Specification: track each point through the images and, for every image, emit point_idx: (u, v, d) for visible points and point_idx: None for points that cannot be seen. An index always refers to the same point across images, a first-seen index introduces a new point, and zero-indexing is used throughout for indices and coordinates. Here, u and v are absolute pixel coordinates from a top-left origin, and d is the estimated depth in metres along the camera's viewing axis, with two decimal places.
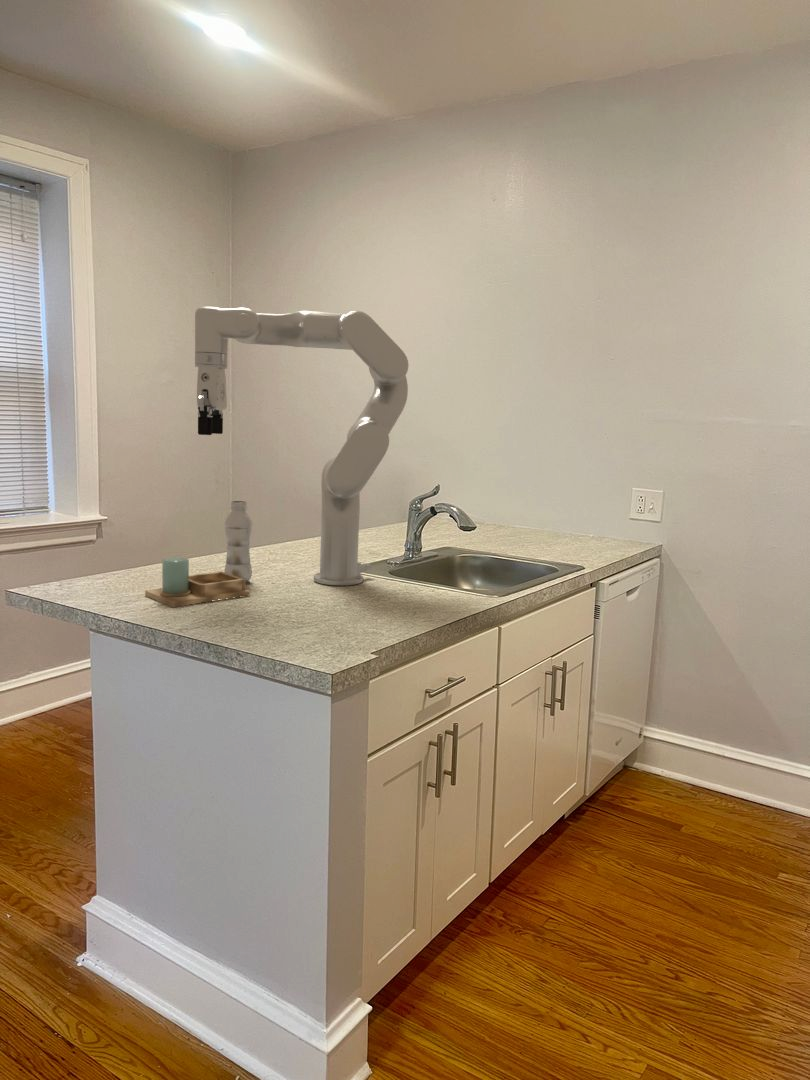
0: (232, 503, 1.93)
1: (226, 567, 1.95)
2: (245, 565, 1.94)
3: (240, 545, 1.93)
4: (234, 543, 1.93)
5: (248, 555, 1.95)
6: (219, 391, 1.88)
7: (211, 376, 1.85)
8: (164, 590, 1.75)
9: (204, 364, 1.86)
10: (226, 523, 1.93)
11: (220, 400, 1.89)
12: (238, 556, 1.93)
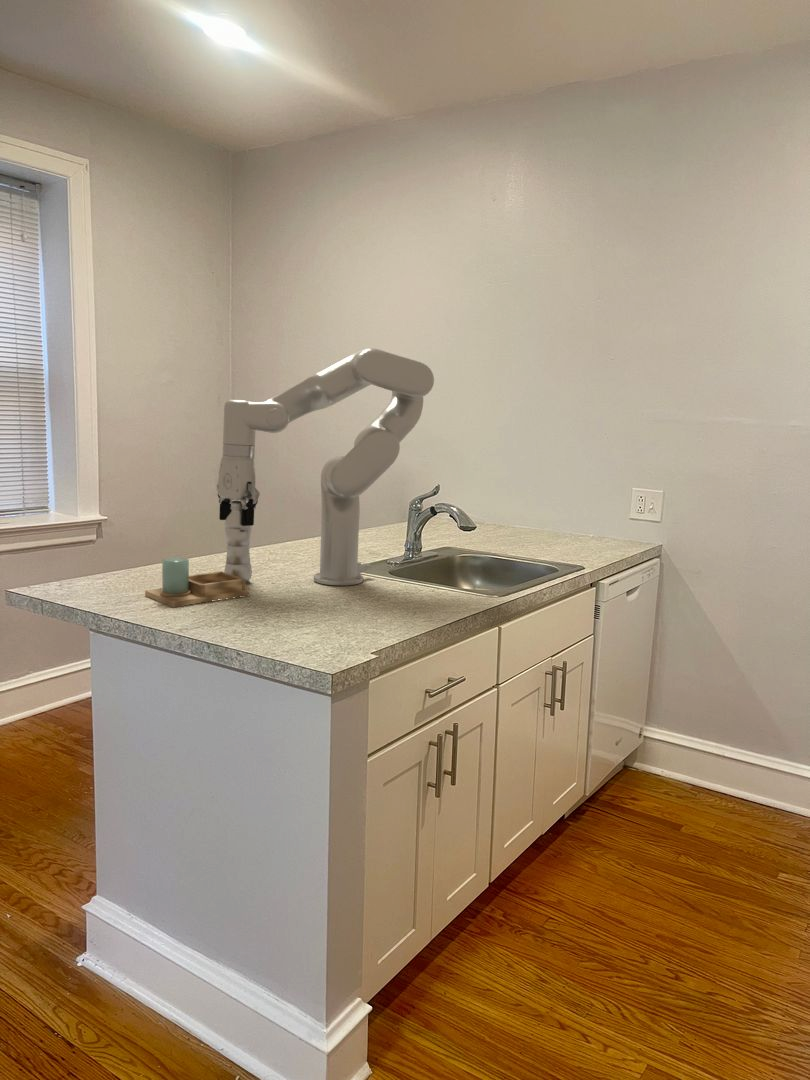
0: (232, 503, 1.93)
1: (226, 567, 1.95)
2: (245, 565, 1.94)
3: (240, 545, 1.93)
4: (234, 543, 1.93)
5: (248, 555, 1.95)
6: (221, 479, 1.93)
7: None
8: (164, 590, 1.75)
9: None
10: (226, 523, 1.93)
11: (223, 488, 1.93)
12: (238, 556, 1.93)
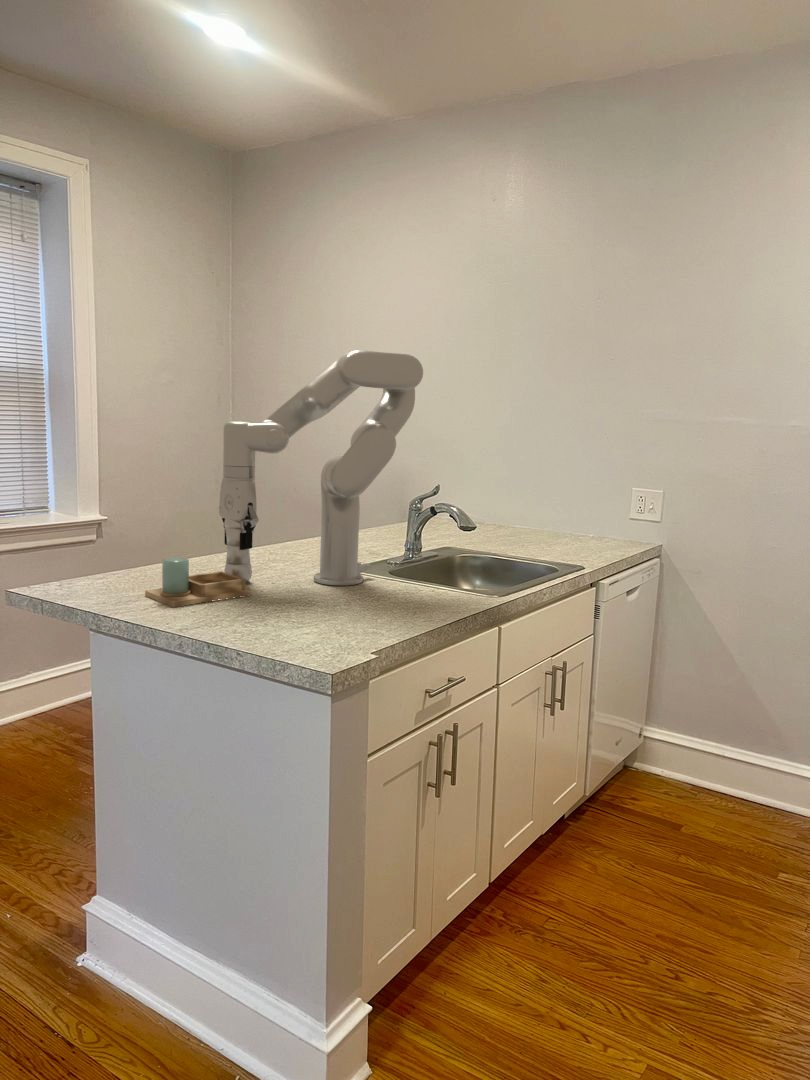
0: None
1: (226, 567, 1.95)
2: (245, 565, 1.94)
3: None
4: (234, 543, 1.93)
5: (248, 555, 1.95)
6: (222, 500, 1.94)
7: None
8: (164, 590, 1.75)
9: None
10: (226, 523, 1.93)
11: (224, 509, 1.93)
12: (238, 556, 1.93)
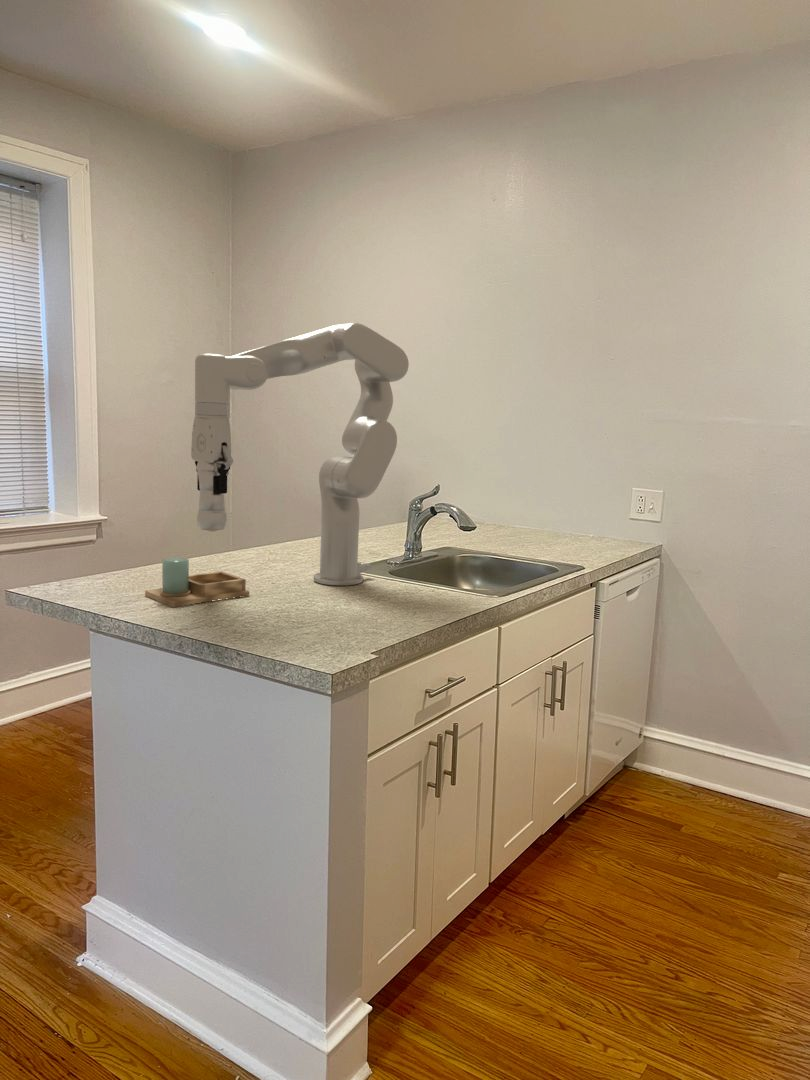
0: None
1: (199, 514, 1.79)
2: (219, 511, 1.79)
3: None
4: (207, 487, 1.77)
5: (223, 501, 1.80)
6: (195, 441, 1.78)
7: None
8: (164, 590, 1.75)
9: None
10: (198, 465, 1.77)
11: (196, 451, 1.78)
12: (211, 501, 1.78)
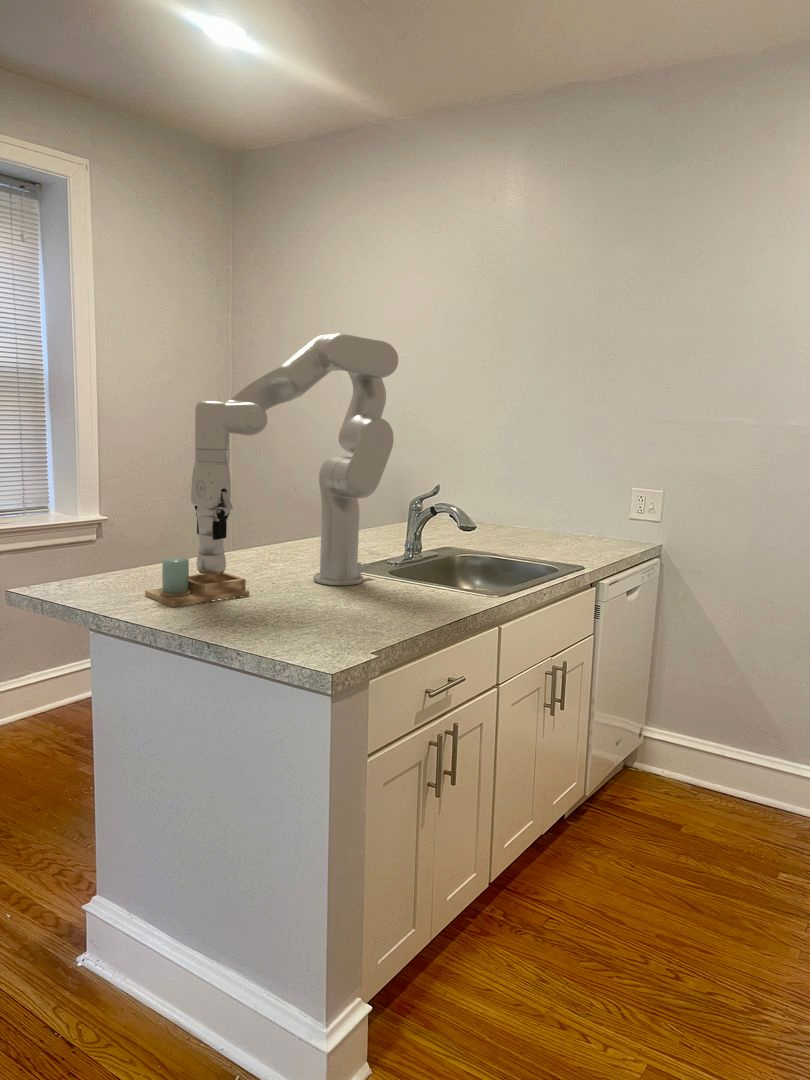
0: None
1: (198, 558, 1.81)
2: (218, 556, 1.81)
3: None
4: (207, 532, 1.79)
5: (222, 545, 1.81)
6: (194, 487, 1.80)
7: None
8: (164, 590, 1.75)
9: None
10: (198, 511, 1.79)
11: (196, 496, 1.80)
12: (210, 546, 1.80)
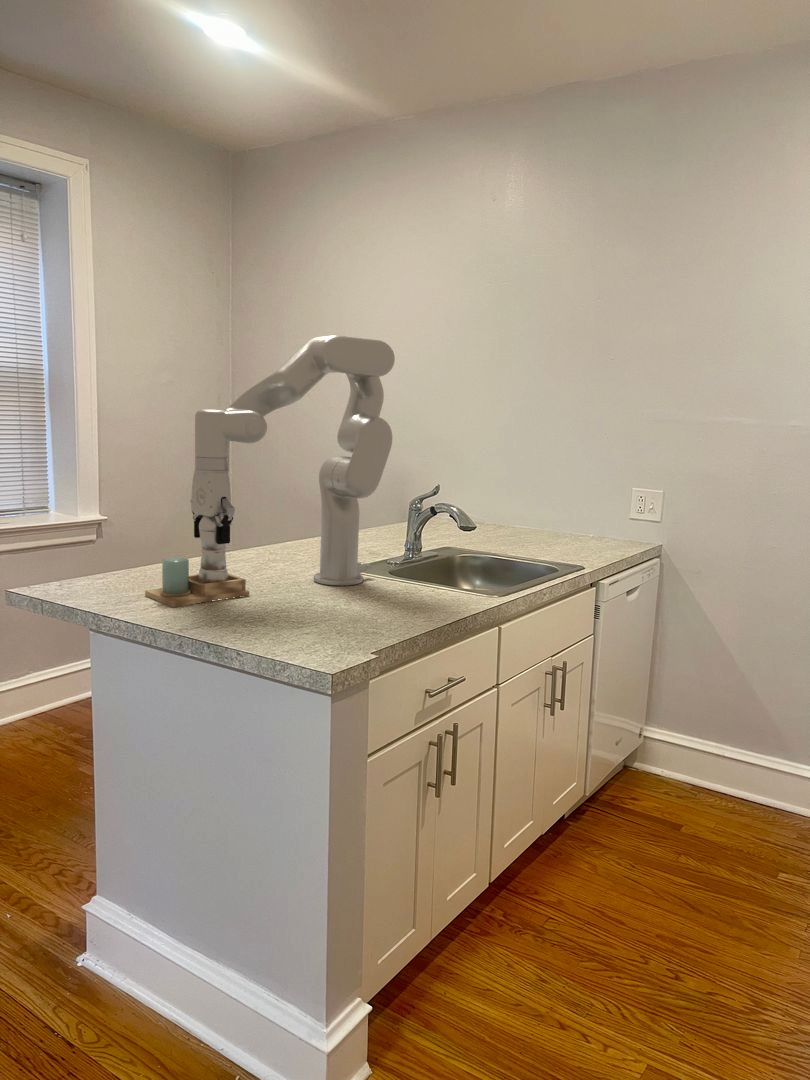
0: None
1: (200, 572, 1.81)
2: (220, 570, 1.81)
3: (215, 549, 1.80)
4: (209, 547, 1.80)
5: (224, 560, 1.82)
6: (194, 495, 1.80)
7: None
8: (164, 590, 1.75)
9: None
10: (200, 525, 1.79)
11: (196, 504, 1.80)
12: (213, 560, 1.80)
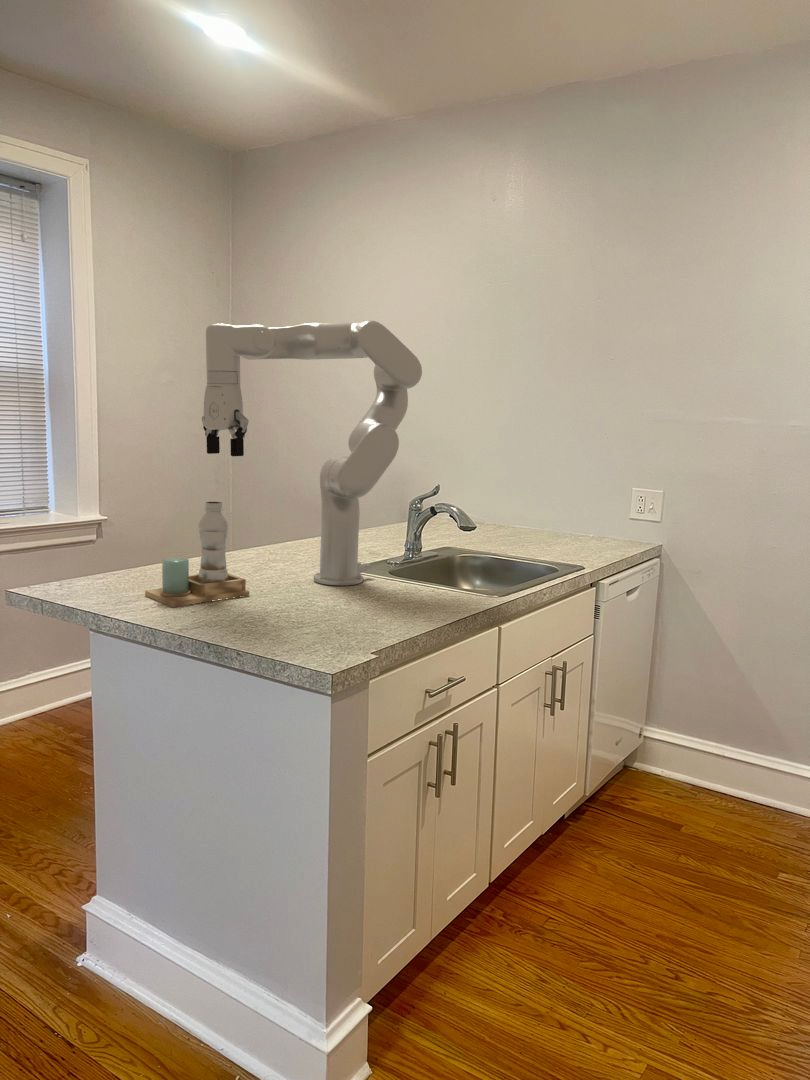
0: (207, 504, 1.79)
1: (200, 572, 1.81)
2: (220, 570, 1.81)
3: (215, 549, 1.80)
4: (209, 547, 1.80)
5: (224, 560, 1.82)
6: (207, 410, 1.84)
7: None
8: (164, 590, 1.75)
9: None
10: (200, 525, 1.80)
11: (209, 419, 1.84)
12: (213, 560, 1.80)
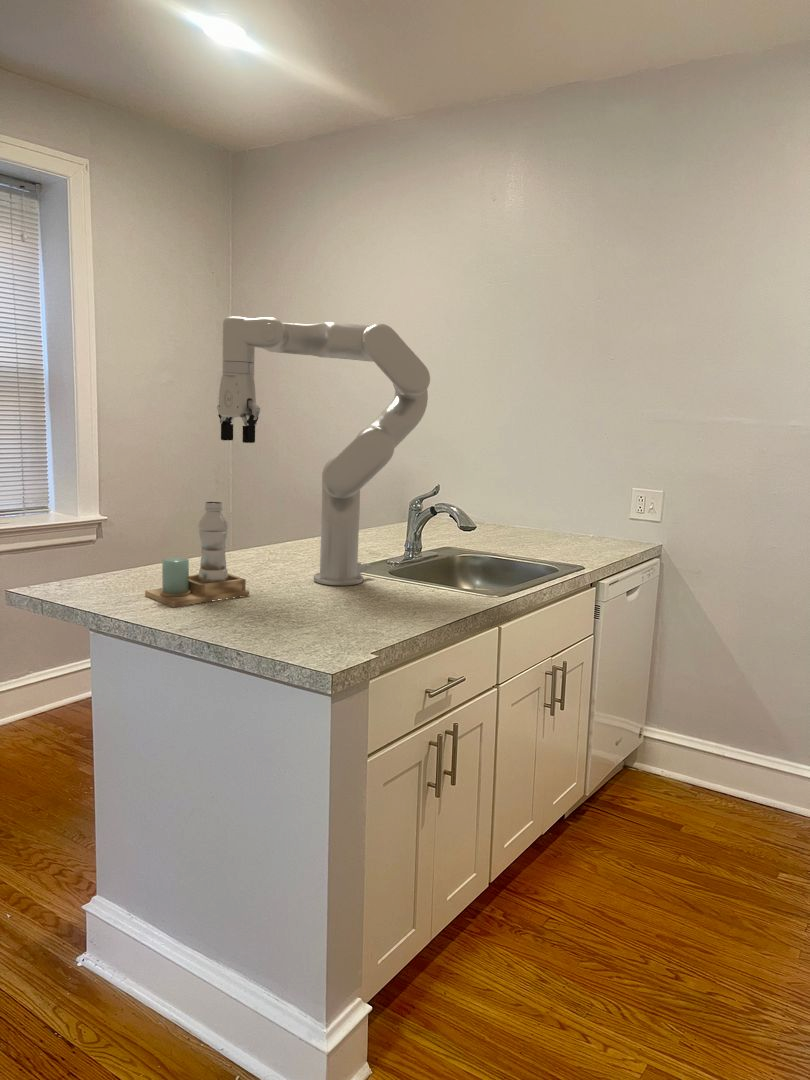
0: (206, 504, 1.79)
1: (200, 572, 1.81)
2: (220, 570, 1.81)
3: (215, 549, 1.80)
4: (209, 547, 1.80)
5: (224, 560, 1.82)
6: (222, 398, 1.94)
7: None
8: (164, 590, 1.75)
9: None
10: (200, 525, 1.79)
11: (223, 407, 1.94)
12: (212, 560, 1.80)
